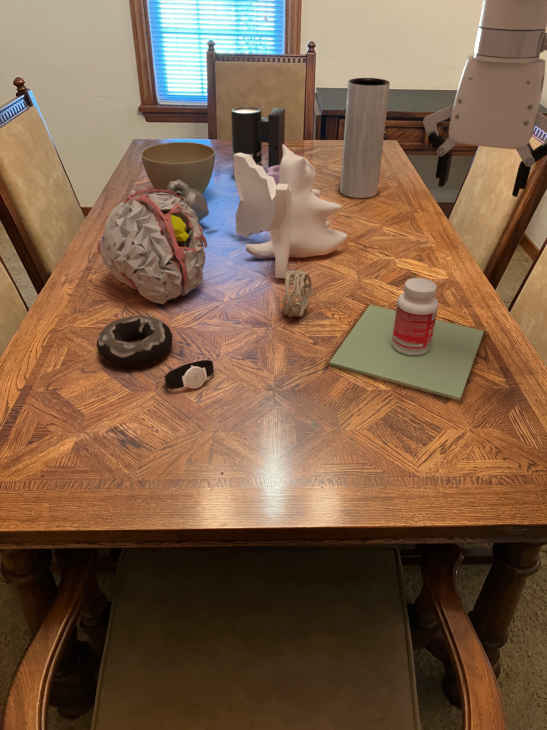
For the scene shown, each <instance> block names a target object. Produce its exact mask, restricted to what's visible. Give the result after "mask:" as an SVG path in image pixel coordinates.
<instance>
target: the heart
mask: <svg viewBox="0 0 547 730" xmlns="http://www.w3.org/2000/svg"><path fill="white" fill-rule="evenodd" d="M167 191H173V192H174V193H176V194H177V195H179V196H180V197H182V198H183V199H185V200H186V201H185V200H183V199H181V198H180V199H181V200H182V201H183V202H184V203H186V204H187V205H188V206H189V207H190V208H191V209H192V210H193V211H194V212H195V213H196V216H197V217H198V223H199V222H201V221H202V220H203V219H205V218H206V217H208V216H209V214H210V211H209V207H208V203H207V200H206V199H205V197H204V195H203V194H201V193H200V192H199V191H197V190H196V189H190V187H189V186H188V185H187V184H185V183H184V182H182V181H181V180H176V181H171V182H170V183H169V184H168V186H167ZM171 194H172V193H171ZM173 195H174V194H173ZM174 196H176V195H174ZM176 197H178V196H176ZM178 198H179V197H178ZM187 201H188V202H187ZM189 202H190V203H189Z"/></svg>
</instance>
